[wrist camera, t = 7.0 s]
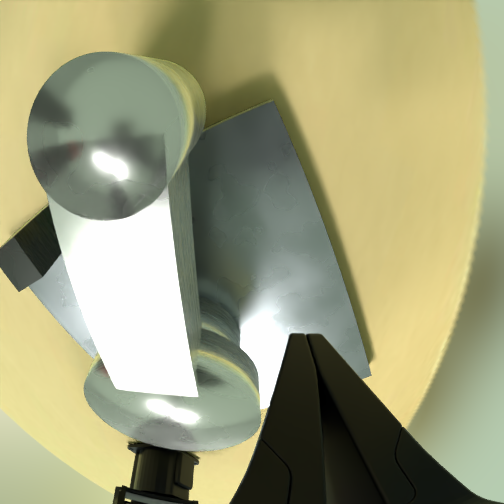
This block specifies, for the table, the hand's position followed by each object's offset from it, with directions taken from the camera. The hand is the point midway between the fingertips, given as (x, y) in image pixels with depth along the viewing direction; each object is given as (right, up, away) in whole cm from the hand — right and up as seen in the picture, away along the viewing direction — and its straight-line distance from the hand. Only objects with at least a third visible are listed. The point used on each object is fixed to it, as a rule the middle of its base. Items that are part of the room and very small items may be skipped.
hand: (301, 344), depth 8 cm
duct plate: (-5, -1, +11) cm, 12 cm away
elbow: (-5, +1, +7) cm, 9 cm away
